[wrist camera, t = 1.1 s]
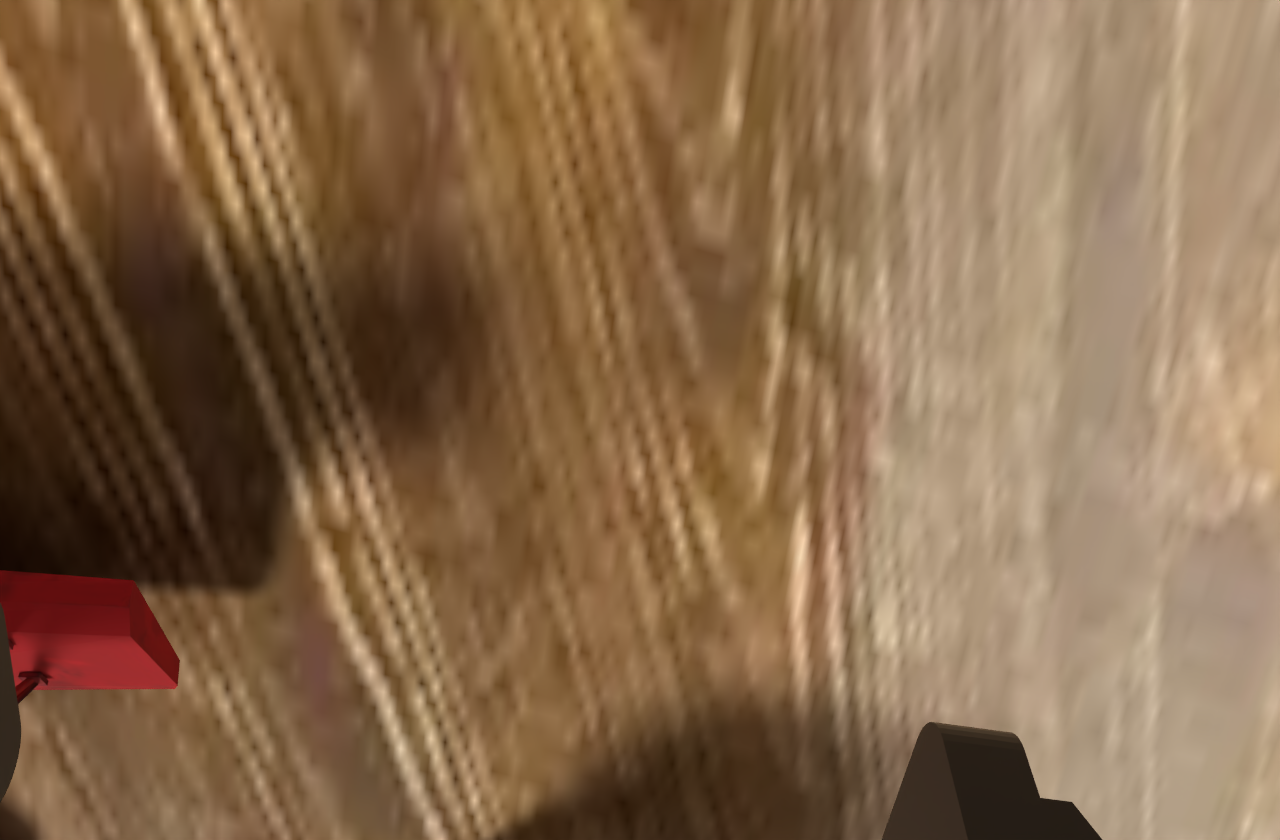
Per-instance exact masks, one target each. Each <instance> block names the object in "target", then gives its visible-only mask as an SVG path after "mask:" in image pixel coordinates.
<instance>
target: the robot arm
mask: <svg viewBox="0 0 1280 840" xmlns="http://www.w3.org/2000/svg"><path fill="white" fill-rule="evenodd" d="M20 741H21V722H20V715H19V708H18V702H17V695H16V688H15V682H14V675H13V668H12V662H11V655H10V648H9V642H8V635H7V628H6V622H5V616H4V611H3V608H2V605H1V603H0V802H1V800H2V799H3V797H4V795H5V793H6V791H7V789H8V787H9V784H10V782H11V779H12V776H13V773H14V770H15V767H16V763H17V759H18V755H19V749H20ZM882 840H1102V839H1101V838H1100V836H1099V835H1098V834H1097V833H1096V831H1095V830H1094V829H1093V828H1092V826H1091V825H1090V824H1089V823H1088V821H1087V820H1086V819H1085V818H1084V816H1083V815H1082V814H1081V813H1080V811H1079V810H1078V809H1077V808H1076V806H1075V805H1074V804H1073V803H1072V802H1067V801H1059V800H1052V799H1044V798H1040V796H1039V793H1038V790H1037V787H1036V784H1035V781H1034V778H1033V775H1032V772H1031V769H1030V766H1029V762H1028V759H1027V756H1026V753H1025V750H1024V748H1023V745H1022V743H1021V741H1020V740H1019V738H1018V737H1017V736H1016V735H1015V734H1013V733H1010V732H1003V731H995V730H987V729H980V728H972V727H965V726H957V725H950V724H942V723H934V722H929V723H927V724H926V725H925V726H924V727H923V729H922V730H921V732H920V734H919V737H918V739H917V742H916V745H915V747H914V750H913V753H912V756H911V759H910V762H909V764H908V767H907V770H906V773H905V776H904V778H903V781H902V784H901V787H900V790H899V792H898V795H897V798H896V801H895V804H894V806H893V809H892V812H891V815H890V818H889V821H888V823H887V826H886V829H885V832H884V835H883V838H882Z"/></svg>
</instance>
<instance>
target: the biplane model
mask: <svg viewBox="0 0 1280 840" xmlns="http://www.w3.org/2000/svg"><path fill="white" fill-rule="evenodd" d="M0 603H1V605H2V608H3V611H4V616H5V622H6V628H7V635H8V642H9V648H10V655H11V662H12V668H13V675H14V682H15V688H16V695H17V702H18V704H19V703H20V702H21V701H22V700H23V699H24V698H25V697H26V696H27V695H28V694H29V693H30V692H31V691H32V690H73V689H175V688H176V687H177V686H178V674H179V662H180V660H179V658H178V657H177V655H176V653H175V651H174V650H173V648H172V646H171V644H170V643H169V641H168V639H167V637H166V636H165V634H164V632H163V630H162V629H161V627H160V625H159V623H158V622H157V620H156V618H155V617H154V615H153V613H152V611H151V610H150V608H149V606H148V604H147V603H146V601H145V599H144V597H143V596H142V594H141V592H140V590H139V589H138V587H137V585H136V584H135V582H134V580H123V579H110V578H97V577H83V576H70V575H57V574H44V573H31V572H17V571H4V570H0Z"/></svg>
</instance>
